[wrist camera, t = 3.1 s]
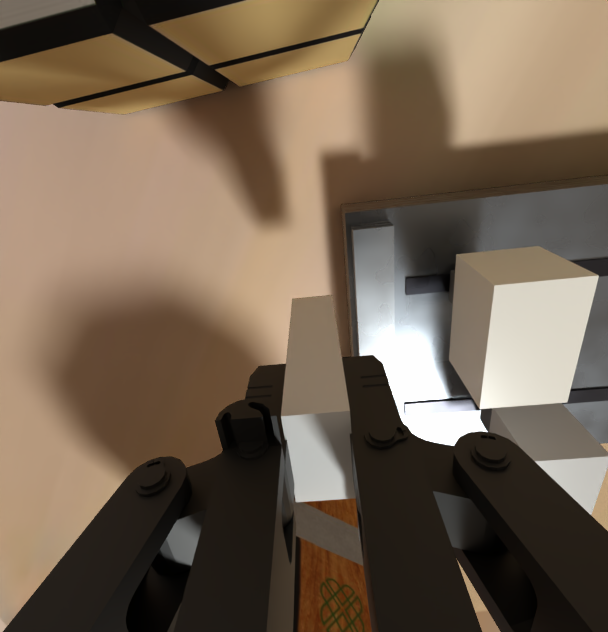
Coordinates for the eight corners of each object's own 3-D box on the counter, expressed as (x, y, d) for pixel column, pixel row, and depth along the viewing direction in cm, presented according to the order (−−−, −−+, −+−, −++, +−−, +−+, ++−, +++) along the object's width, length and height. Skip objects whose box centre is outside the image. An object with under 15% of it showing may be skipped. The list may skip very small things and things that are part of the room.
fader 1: (435, 237, 15) (494, 285, 10) (505, 229, 15) (598, 275, 10) (431, 331, 17) (479, 409, 12) (493, 325, 17) (567, 402, 12)
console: (341, 204, 17) (347, 218, 14) (810, 152, 16) (913, 156, 13) (356, 434, 23) (362, 474, 20) (695, 409, 22) (750, 448, 19)
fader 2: (470, 374, 18) (529, 461, 13) (529, 369, 18) (611, 456, 13) (463, 441, 20) (513, 539, 15) (517, 437, 20) (584, 535, 15)
